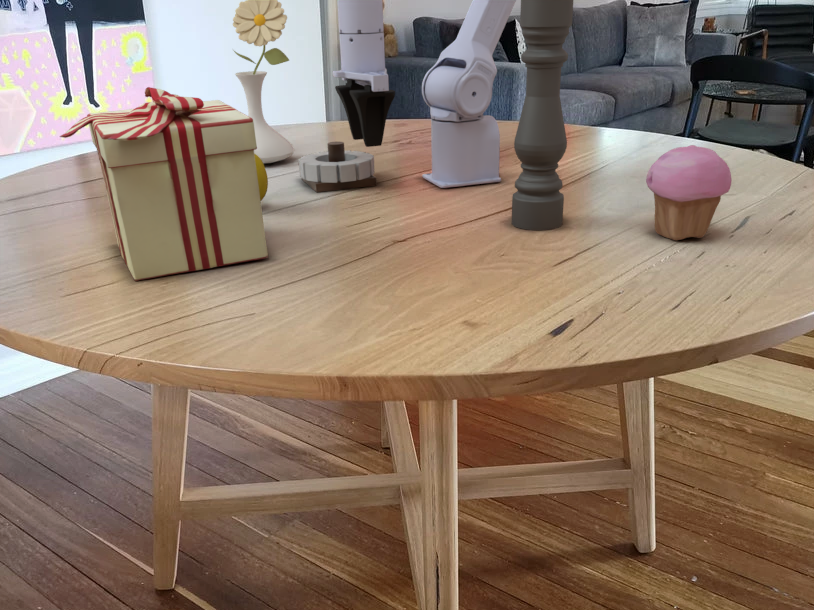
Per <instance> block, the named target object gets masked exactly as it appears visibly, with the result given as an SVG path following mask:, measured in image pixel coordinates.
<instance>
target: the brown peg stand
mask: <svg viewBox="0 0 814 610" xmlns="http://www.w3.org/2000/svg"><path fill="white" fill-rule="evenodd" d="M327 151H328V158H329V162H343V161H345V142H344V141H330V142H328V143H327ZM301 180H302V182H303V183H305V184H306V185H308V187H310V188H311V189H312V190H313V191H314V192H316V193H323V192H331V191H333V192H334V191H341V190H350V189H351V190H352V189H359V188H360V189H361V188H367V187H376V186H377V177H376V176H374V174H373V175H372V176H370V177H368V178H365V179H361V180H357V179H356V181H349V182H340V181H338V182H337V183H321V181H320V182H313V181H307V180H304V179H303V178H301Z"/></svg>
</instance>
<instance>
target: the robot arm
mask: <svg viewBox="0 0 814 610" xmlns="http://www.w3.org/2000/svg"><path fill="white" fill-rule="evenodd" d="M336 2H337V20H338V36H339V50H340V51H339V52H340V54H339V55H340V69H339V70H333V71H332V77H334V78H337V79H339V78H340V79H341V81H343V82H344V81H345V84H342V85H341V84H340V85H335V86H334V88H335V91H336V93H337V95H338V97H339V98H340V101H341V103H342V105H343V108H344V111H345V115H346V118H347V122H348V125H349V130H350V133H351V136H352V139H353V141H356V140H357V141H358V140H363V143H364V147H366V148H370V147H381V146H382V144H383V139H384V133H385V129H386V128H385V127H386V122H387V118H388V113H389V110H390V108H391V105H392V102H393V101H394V99H395V97H396V91H395V90H393V89H390V88H389V87H390V84H389V83H390V82H389V74H388V69H387V68H386V55H385V53H386V52H385V30H384V29H385V27H384V6H383V4H384V2H383V0H336ZM516 2H517V0H472V1H471V3H470V5H469V8H468V10H467V12H466V15H465V17H464V19H463V22H462V24H461V26H460V29H459V31H458V33H457V36H456V38H455V40H454V41H452V42H451V43H450V44H449V45H448V46H446V48H444V49H443V50H442V51H441V52H440V54H439V57H438V59H437V60H436V62H435V63H434V65H433V66H432V67H431V68H430V69H429V70H427V71H426V73H425V75H424V77H423V79H422V83H421V95H422V98H423V101H424V102H425V104H426V105H427V106H428V107H429V112H430V113H429V114H430V137H431V139H430V140H431V141H430V144H431V147H430V148H431V149H430V150H431V173H423V174H422V175H421V177H422V179H424V180H426V181H428V182H429V183H431V184H433V185H435V186H437V187H439V188H441V189H447V188H457V187H465V186H474V185H480V184H481V185H483V184H484V185H485V184H493V183H500V182H502V177H500V159H501V158H500V154H501V152H500V151H501V146H500V145H501V133H500V128H499V124H498V121H497V120H496V118H495V117H494V116H492V115H489V114H488V115H487V114H485V115H484V113H485V112H486V111H487V109H488V108H489V106H490V104H491V101H492V99H493V84H494V81H495V78H496V76H497V73H498V69H497V66H496V63H495V61H494V60H495V59H494V58H493V54H494V52H495V49H496V47H497V45H498V42H499V41H500V38H501V37H502V33H503V31H504V30H505V27H506V24H507V22H508V20H509V17H510V15H511V14H512V11H513V9H514V6H515V4H516Z"/></svg>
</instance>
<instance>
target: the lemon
mask: <svg viewBox="0 0 814 610" xmlns="http://www.w3.org/2000/svg"><path fill="white" fill-rule="evenodd" d="M254 156H255V162H256V170H257V178H258V186H259V193H260V201H261V202H262V201H263V200H264V199H265V197H266V194H267V192H268V187H269V178H268V173H267V170H266V167H265V163H264V164H263V162H262V160H261V159H260V158H259V157H258V156H257V155H256V154H254Z"/></svg>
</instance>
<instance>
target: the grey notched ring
mask: <svg viewBox="0 0 814 610" xmlns="http://www.w3.org/2000/svg"><path fill="white" fill-rule="evenodd" d="M344 150H345V149H344ZM375 169H376V168H375V156H374V154H372V153H370V152H366V151H361V150H360V151H359V150H345V161H343V162H329V158H328V150H327V151H318V152H313V153H308V154H305V155H302V156H301V157H300V158H299V159H298V171H299V177H300V178H301V179H302V178H303V179H304V180H307V181H313V182H320V181H321V183H337V182H338V181H340V182H349V181H356V179H357V180H361V179H365V178H368V177H370V176H372V175H373V176H374V175H375V173H376V170H375Z"/></svg>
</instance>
